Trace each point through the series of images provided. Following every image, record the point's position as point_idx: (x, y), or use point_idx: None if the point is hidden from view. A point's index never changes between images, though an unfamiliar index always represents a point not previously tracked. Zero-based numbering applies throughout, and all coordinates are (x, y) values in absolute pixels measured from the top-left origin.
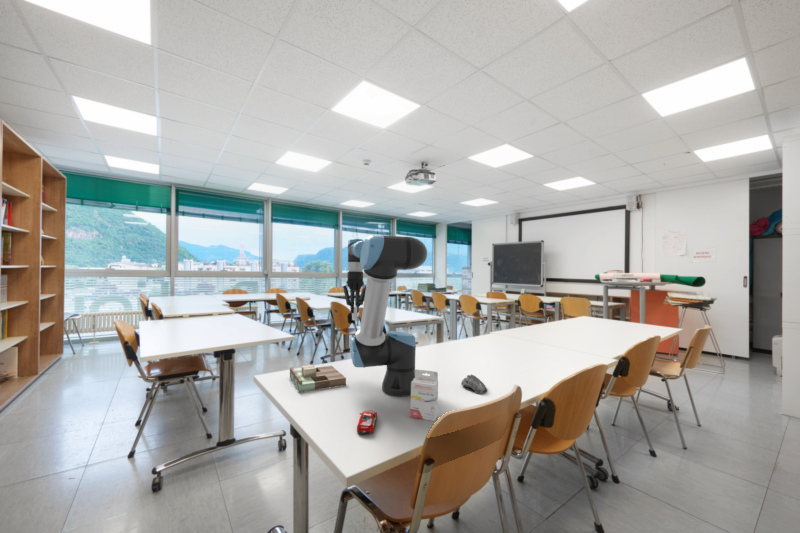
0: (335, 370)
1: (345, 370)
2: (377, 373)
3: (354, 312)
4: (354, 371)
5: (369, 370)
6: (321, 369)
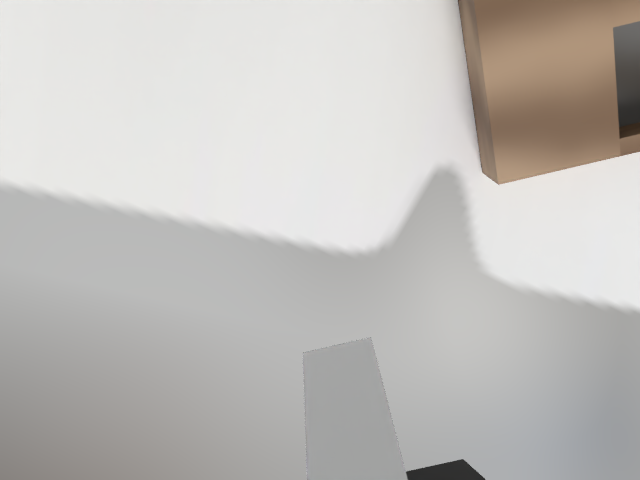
0: (492, 31)
1: (372, 188)
2: (128, 52)
3: (393, 459)
4: (307, 147)
5: (185, 148)
6: (596, 89)
